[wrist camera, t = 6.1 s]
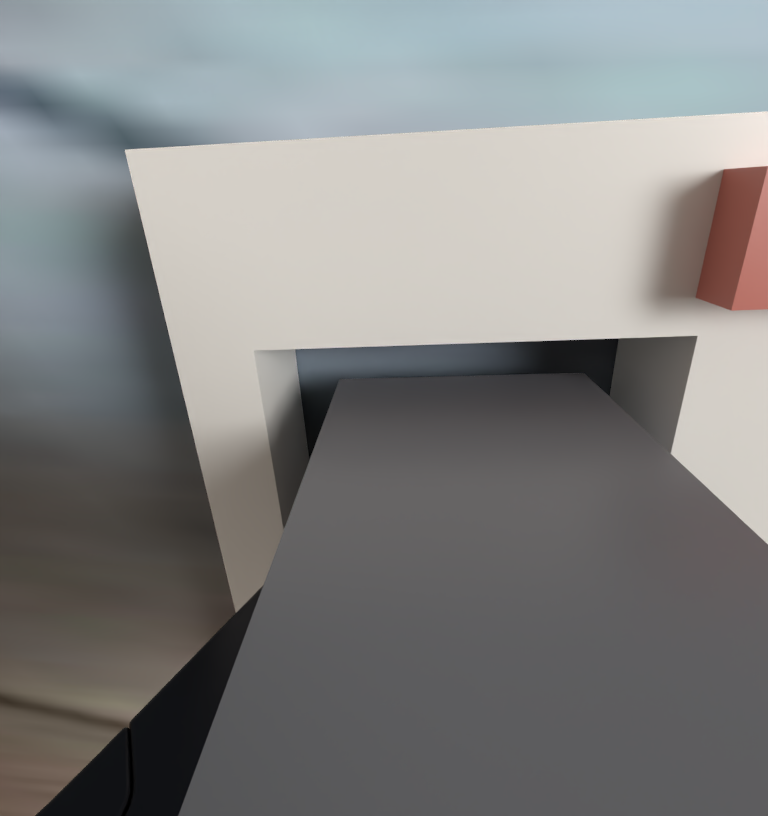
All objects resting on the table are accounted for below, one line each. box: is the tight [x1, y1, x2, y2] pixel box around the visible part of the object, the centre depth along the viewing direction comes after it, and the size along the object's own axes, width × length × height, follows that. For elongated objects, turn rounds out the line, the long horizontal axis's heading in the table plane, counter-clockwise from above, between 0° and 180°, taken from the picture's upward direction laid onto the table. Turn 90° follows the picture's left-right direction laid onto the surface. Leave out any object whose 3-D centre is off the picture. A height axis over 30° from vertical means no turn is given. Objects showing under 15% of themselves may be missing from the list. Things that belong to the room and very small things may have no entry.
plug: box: [178, 373, 768, 816], centre depth 6 cm, size 4×4×7 cm
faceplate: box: [125, 112, 768, 612], centre depth 9 cm, size 12×18×3 cm, turn 93°
